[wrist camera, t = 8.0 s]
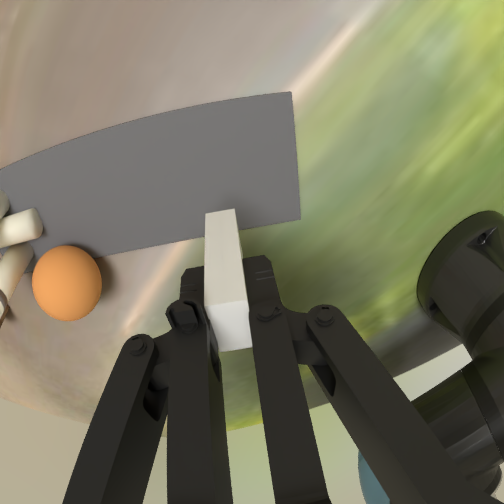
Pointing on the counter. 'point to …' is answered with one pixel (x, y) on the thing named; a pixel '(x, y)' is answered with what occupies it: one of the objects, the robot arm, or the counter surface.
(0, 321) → the back wall
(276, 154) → the grey flat board
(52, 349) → the counter surface
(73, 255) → the ball
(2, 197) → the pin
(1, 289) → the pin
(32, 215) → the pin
